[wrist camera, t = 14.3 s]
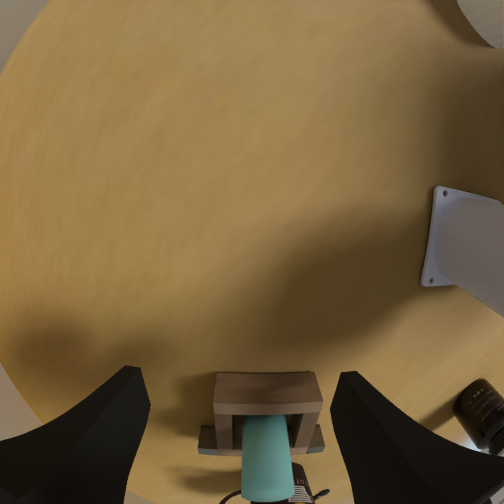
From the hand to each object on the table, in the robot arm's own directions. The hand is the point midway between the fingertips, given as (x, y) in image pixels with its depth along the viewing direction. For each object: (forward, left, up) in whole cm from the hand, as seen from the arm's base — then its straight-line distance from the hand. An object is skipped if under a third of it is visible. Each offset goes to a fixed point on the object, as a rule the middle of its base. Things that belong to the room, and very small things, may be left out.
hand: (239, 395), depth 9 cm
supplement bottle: (-32, +18, -10) cm, 38 cm away
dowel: (-2, +12, -10) cm, 15 cm away
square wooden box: (-2, +12, -10) cm, 16 cm away
